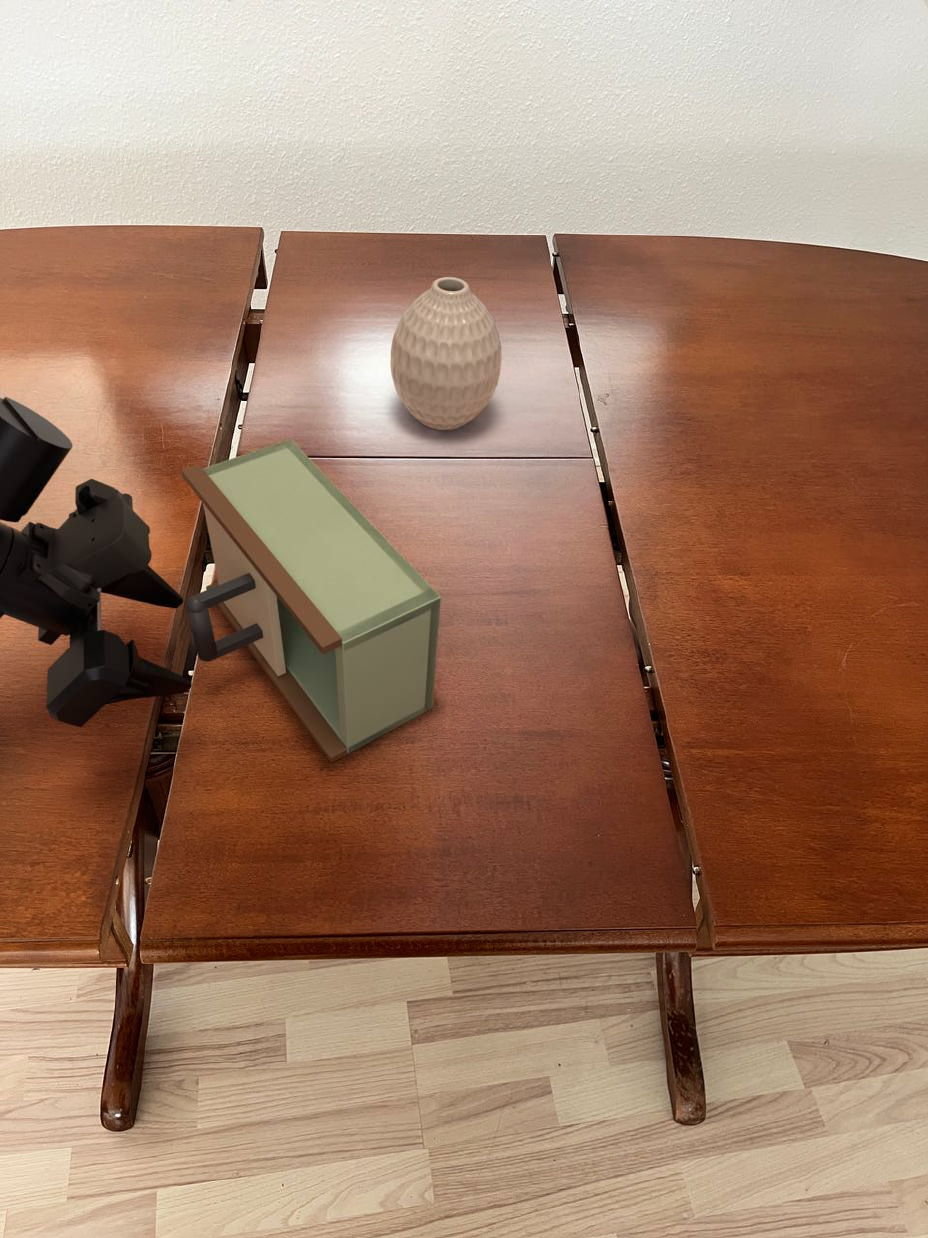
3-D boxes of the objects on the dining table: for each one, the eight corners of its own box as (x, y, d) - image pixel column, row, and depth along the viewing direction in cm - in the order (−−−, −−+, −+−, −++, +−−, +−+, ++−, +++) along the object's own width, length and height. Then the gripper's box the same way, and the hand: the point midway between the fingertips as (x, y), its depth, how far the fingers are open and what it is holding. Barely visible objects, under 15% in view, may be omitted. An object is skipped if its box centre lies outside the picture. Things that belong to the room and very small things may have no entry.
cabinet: (330, 763, 70) (322, 647, 59) (206, 592, 82) (180, 469, 71) (432, 708, 75) (441, 591, 64) (301, 553, 87) (290, 432, 76)
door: (218, 705, 72) (194, 603, 63) (164, 623, 78) (135, 519, 68) (286, 672, 75) (273, 571, 66) (229, 596, 80) (210, 492, 71)
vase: (486, 454, 100) (501, 322, 88) (378, 437, 101) (378, 303, 88) (501, 395, 109) (517, 266, 96) (402, 379, 109) (405, 250, 97)
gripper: (54, 588, 50) (264, 675, 60) (60, 407, 62) (235, 507, 72) (-48, 695, 53) (167, 759, 64) (-23, 505, 65) (155, 586, 76)
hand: (184, 644), depth 69 cm, fingers open, 9 cm apart
